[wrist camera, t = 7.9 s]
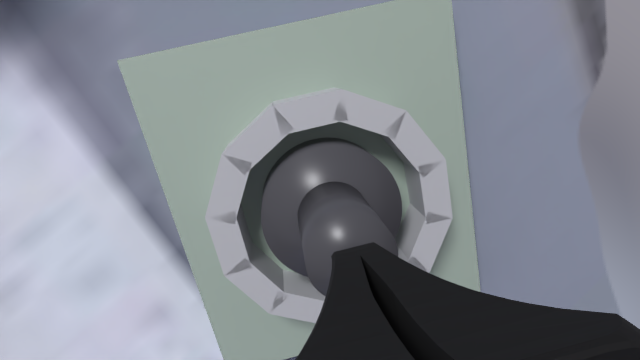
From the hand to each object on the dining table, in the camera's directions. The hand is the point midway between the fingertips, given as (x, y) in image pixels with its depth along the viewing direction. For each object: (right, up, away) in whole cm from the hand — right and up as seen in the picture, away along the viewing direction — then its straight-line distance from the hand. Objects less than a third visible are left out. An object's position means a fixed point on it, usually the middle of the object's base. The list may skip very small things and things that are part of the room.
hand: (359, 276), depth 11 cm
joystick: (-1, +2, +6) cm, 7 cm away
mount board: (-1, +2, +8) cm, 8 cm away
